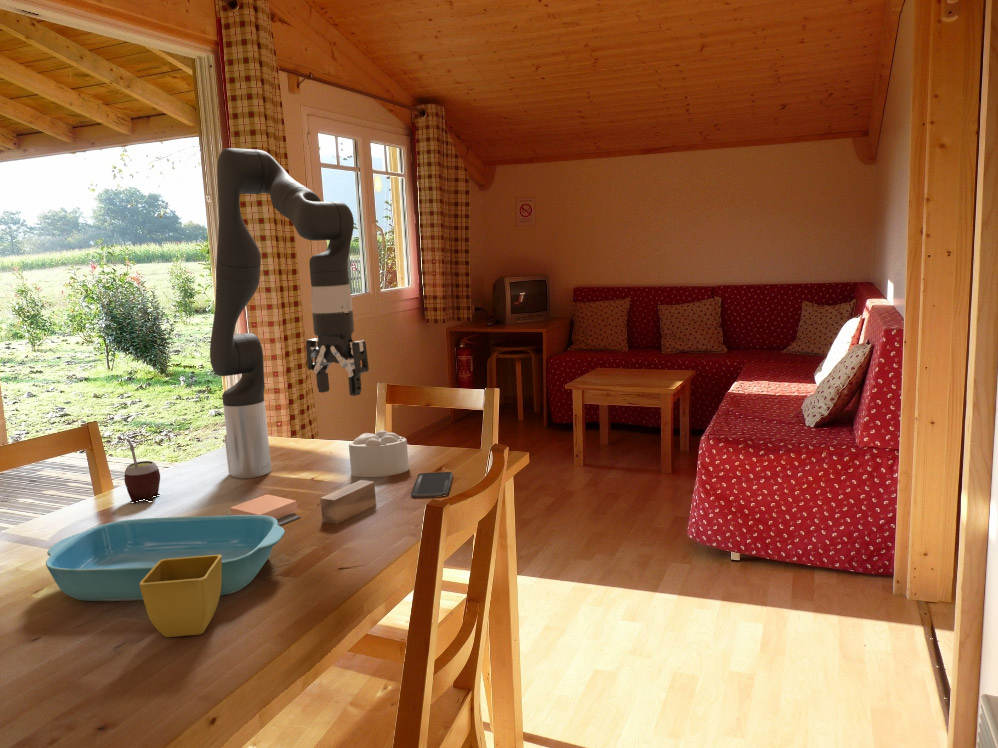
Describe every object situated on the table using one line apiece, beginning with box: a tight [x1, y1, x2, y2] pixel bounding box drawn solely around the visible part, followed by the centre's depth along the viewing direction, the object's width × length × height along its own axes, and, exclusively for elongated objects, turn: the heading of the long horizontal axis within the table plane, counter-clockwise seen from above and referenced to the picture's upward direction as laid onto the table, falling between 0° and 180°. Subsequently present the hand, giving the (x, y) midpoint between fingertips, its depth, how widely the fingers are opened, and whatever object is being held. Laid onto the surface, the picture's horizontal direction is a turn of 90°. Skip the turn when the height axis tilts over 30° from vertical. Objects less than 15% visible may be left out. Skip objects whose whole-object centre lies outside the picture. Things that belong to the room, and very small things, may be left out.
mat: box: [228, 513, 301, 527], centre depth 153 cm, size 14×8×1 cm, turn 55°
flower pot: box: [139, 555, 222, 638], centre depth 108 cm, size 9×9×9 cm
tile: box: [229, 494, 298, 520], centre depth 153 cm, size 9×2×9 cm
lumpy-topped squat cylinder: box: [348, 429, 410, 478], centre depth 181 cm, size 10×13×9 cm
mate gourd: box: [123, 438, 161, 502], centre depth 167 cm, size 8×8×15 cm
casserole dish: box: [45, 514, 286, 602], centre depth 126 cm, size 37×22×7 cm, turn 90°
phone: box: [410, 471, 454, 499], centre depth 168 cm, size 8×1×15 cm
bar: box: [319, 479, 377, 525], centre depth 153 cm, size 4×12×5 cm, turn 150°
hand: (339, 393), depth 149 cm, fingers open, 8 cm apart
